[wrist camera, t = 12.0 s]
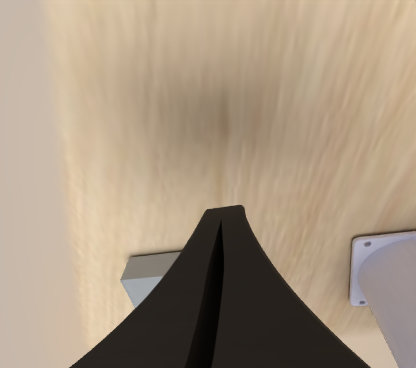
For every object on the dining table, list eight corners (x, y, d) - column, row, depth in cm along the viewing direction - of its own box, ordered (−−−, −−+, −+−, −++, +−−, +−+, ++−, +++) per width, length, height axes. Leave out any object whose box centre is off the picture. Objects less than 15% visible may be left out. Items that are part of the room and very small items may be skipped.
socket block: (255, 243, 23) (257, 266, 21) (269, 324, 28) (272, 350, 26) (129, 257, 25) (120, 280, 22) (165, 331, 30) (160, 355, 28)
